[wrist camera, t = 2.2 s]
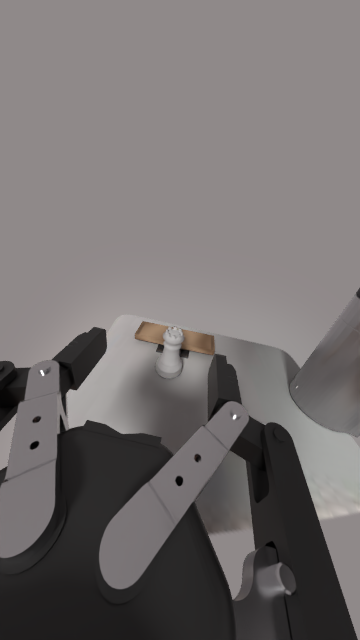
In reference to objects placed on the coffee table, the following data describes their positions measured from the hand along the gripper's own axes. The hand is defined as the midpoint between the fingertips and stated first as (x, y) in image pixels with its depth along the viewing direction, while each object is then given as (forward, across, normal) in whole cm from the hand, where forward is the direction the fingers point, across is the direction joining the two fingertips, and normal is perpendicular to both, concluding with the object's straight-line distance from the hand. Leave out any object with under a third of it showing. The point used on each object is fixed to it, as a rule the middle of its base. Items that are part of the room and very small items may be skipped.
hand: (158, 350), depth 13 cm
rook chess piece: (+12, 0, +14) cm, 18 cm away
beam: (+18, 0, +12) cm, 22 cm away
